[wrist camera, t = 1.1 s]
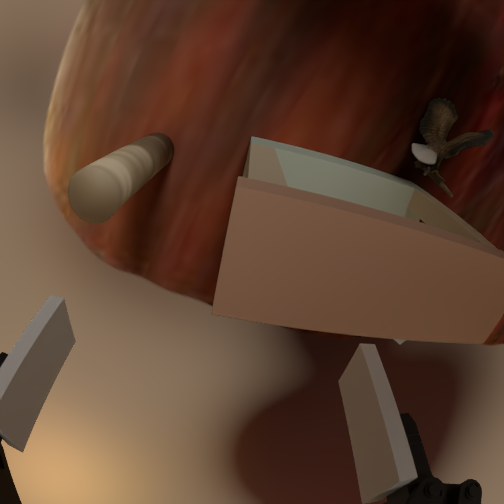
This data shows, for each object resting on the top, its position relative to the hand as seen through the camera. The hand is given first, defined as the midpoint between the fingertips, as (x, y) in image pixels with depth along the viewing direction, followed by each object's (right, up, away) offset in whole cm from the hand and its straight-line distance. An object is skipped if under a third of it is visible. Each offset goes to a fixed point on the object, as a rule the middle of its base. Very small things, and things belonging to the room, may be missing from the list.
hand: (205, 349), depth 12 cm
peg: (-8, +14, +16) cm, 23 cm away
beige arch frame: (+10, +9, +14) cm, 20 cm away
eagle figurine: (+22, +17, +15) cm, 31 cm away
